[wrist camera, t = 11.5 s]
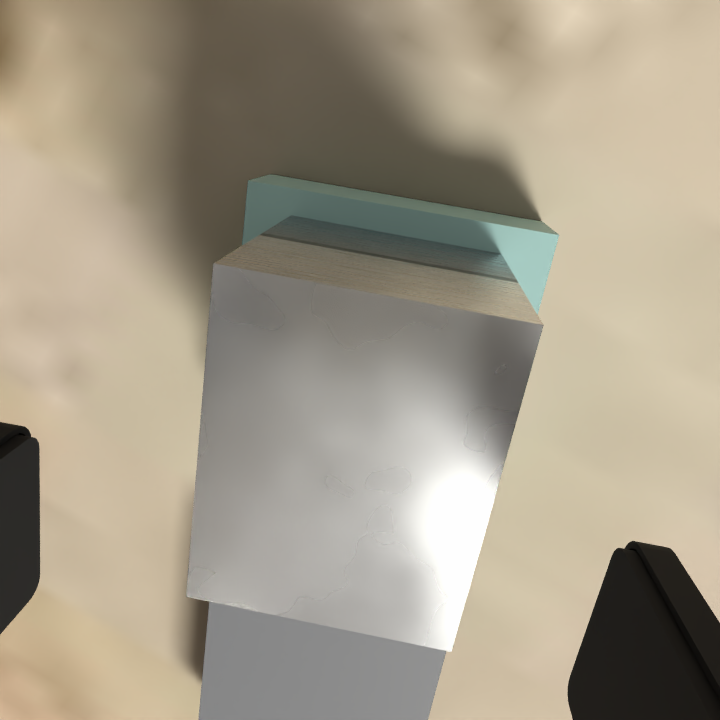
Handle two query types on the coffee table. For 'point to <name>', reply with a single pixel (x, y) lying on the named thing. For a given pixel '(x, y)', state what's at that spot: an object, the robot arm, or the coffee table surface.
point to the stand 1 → (406, 223)
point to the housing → (355, 426)
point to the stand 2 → (310, 671)
